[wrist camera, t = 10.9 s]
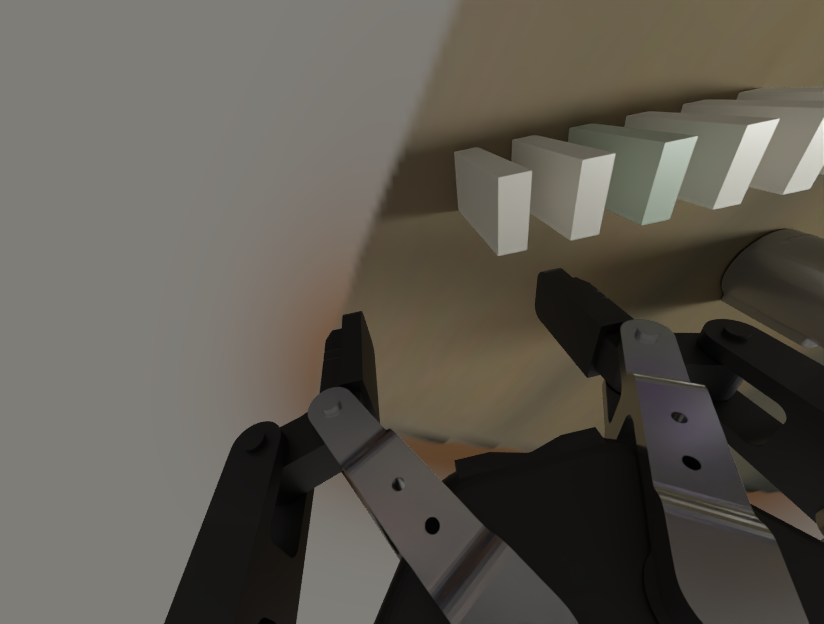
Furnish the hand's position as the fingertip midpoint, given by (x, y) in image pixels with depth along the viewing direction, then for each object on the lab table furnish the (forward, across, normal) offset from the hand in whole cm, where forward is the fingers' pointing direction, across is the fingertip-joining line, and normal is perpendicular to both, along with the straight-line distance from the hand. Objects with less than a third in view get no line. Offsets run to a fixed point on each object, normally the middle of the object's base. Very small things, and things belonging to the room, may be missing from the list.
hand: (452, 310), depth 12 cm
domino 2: (+18, -11, 0) cm, 21 cm away
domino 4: (+18, -21, 0) cm, 28 cm away
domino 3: (+18, -16, 0) cm, 24 cm away
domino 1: (+18, -6, 0) cm, 19 cm away
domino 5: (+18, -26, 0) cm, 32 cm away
